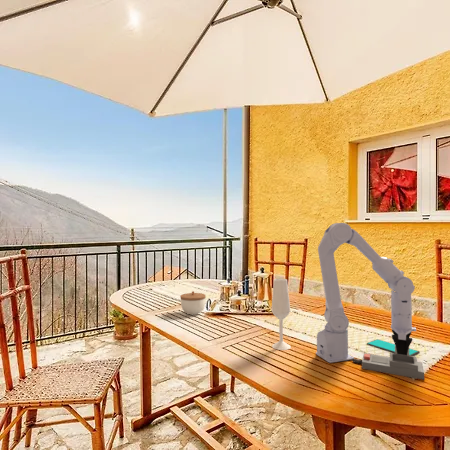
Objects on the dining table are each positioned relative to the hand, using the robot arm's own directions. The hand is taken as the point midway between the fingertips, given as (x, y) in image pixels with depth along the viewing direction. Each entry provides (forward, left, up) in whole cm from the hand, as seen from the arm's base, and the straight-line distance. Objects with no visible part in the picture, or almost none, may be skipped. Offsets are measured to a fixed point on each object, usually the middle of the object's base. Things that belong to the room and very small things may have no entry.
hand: (402, 355), depth 103 cm
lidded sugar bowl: (-52, +78, -2) cm, 94 cm away
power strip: (-9, -3, -1) cm, 10 cm away
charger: (0, 0, -2) cm, 2 cm away
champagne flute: (-31, +23, -2) cm, 39 cm away
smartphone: (+5, +9, -2) cm, 10 cm away
